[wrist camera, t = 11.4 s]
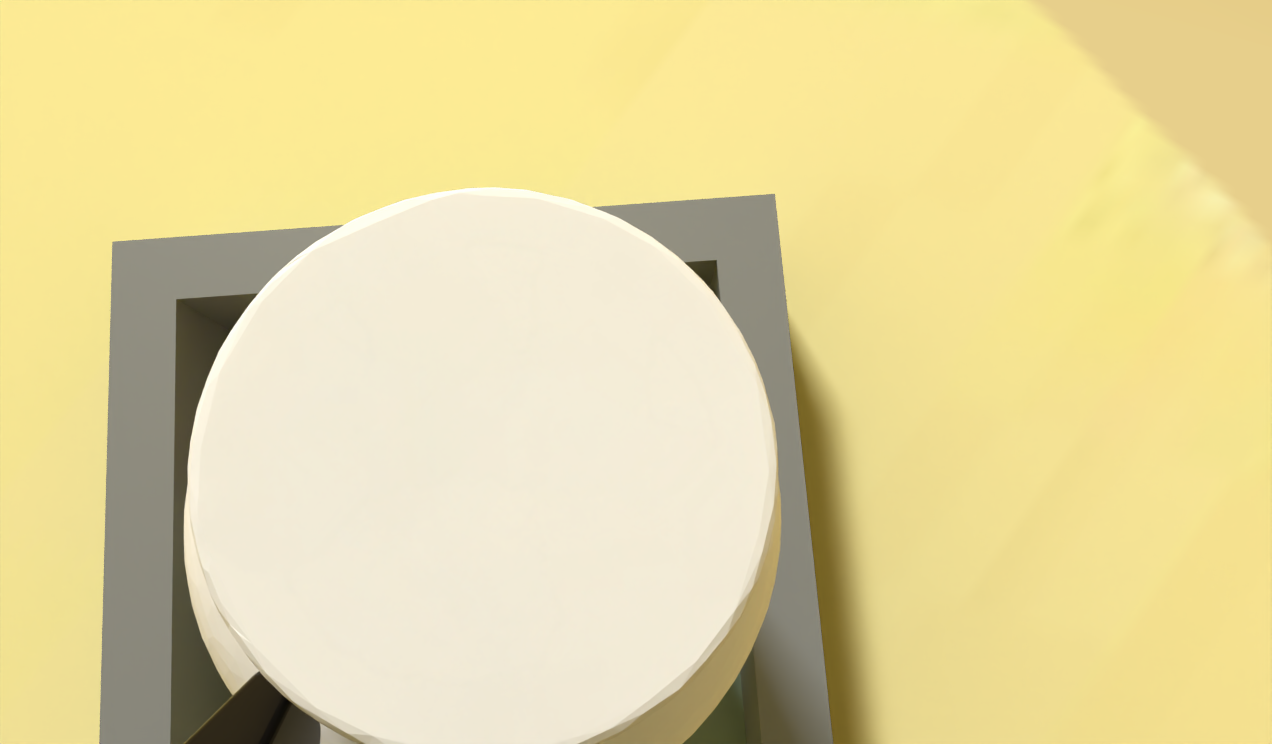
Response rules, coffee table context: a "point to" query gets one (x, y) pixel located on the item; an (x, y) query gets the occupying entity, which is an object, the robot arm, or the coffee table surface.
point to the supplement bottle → (485, 481)
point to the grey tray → (164, 418)
